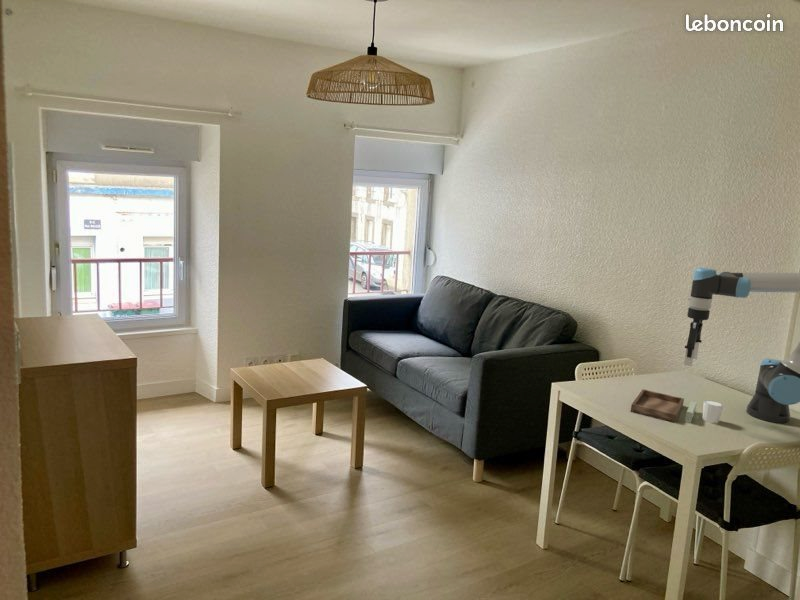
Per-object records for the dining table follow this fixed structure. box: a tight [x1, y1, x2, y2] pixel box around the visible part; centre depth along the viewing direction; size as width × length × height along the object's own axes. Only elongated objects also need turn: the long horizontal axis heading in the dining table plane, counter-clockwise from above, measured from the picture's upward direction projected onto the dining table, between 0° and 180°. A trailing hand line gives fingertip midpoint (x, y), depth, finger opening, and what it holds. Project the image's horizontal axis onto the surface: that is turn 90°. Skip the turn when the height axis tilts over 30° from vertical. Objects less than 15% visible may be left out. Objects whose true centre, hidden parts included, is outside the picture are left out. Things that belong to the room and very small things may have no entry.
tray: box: [630, 388, 685, 423], centre depth 253 cm, size 16×24×3 cm, turn 150°
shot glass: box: [701, 399, 724, 424], centre depth 244 cm, size 7×7×7 cm
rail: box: [684, 400, 698, 424], centre depth 247 cm, size 2×16×4 cm, turn 150°
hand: (690, 361), depth 250 cm, fingers open, 13 cm apart
